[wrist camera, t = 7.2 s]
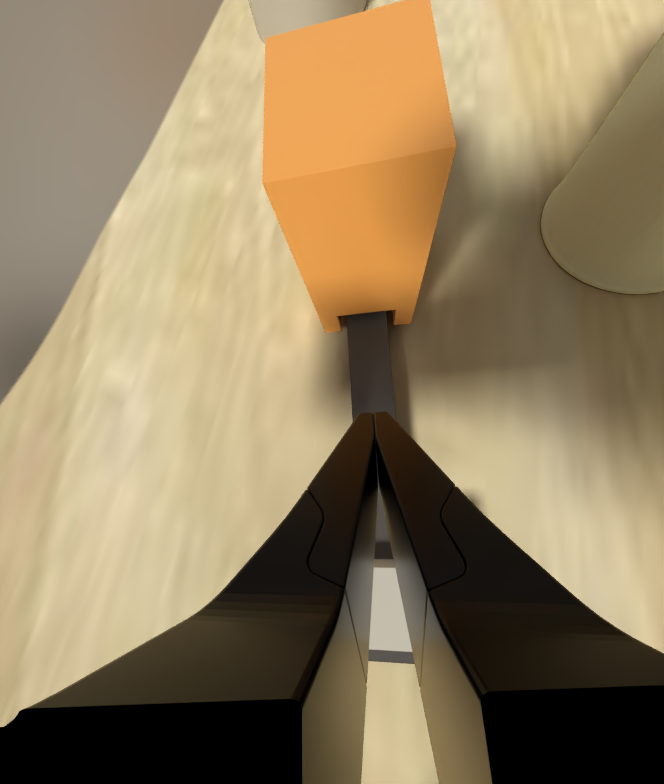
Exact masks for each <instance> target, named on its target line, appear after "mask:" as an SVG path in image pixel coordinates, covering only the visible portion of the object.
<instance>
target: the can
mask: <svg viewBox="0 0 664 784" xmlns="http://www.w3.org/2000/svg"><path fill="white" fill-rule="evenodd" d="M541 232H542V236H543V240H544V243H545V245H546V247H547V249H548V251H549V253H550V254H551V256H552V257H553V258H554V260H555V261H556V262H557V263H558V264H559V265H560V266H561V267H562V268H563V269H564V270H566V271H567V272H568V273H569V274H571V275H572V276H574V277H575V278H577V279H579V280H581V281H582V282H584V283H587V284H589V285H591V286H594V287H597V288H600V289H603V290H607V291H611V292H617V293H624V294H649V293H657V292H662V291H664V34H663V35H662V36H661V38H660V39H659V41H658V42H657V44H656V45H655V47H654V48H653V50H652V51H651V53H650V54H649V56H648V57H647V59H646V60H645V62H644V63H643V64H642V66H641V67H640V69H639V70H638V72H637V73H636V75H635V76H634V78H633V79H632V81H631V82H630V84H629V85H628V87H627V88H626V90H625V91H624V92H623V94H622V95H621V97H620V98H619V100H618V101H617V103H616V104H615V106H614V107H613V109H612V110H611V112H610V113H609V115H608V116H607V118H606V119H605V120H604V122H603V123H602V125H601V126H600V128H599V129H598V131H597V132H596V134H595V135H594V137H593V138H592V140H591V141H590V142H589V144H588V145H587V147H586V148H585V150H584V151H583V153H582V154H581V156H580V157H579V158H578V160H577V161H576V163H575V164H574V165H573V167H572V168H571V170H570V171H569V172H568V174H567V175H566V177H565V178H564V179H563V181H562V182H561V183H559V184H558V186H557V187H556V188H555V189H554V190H553V192H552V193H551V194H550V196H549V198H548V199H547V201H546V203H545V206H544V209H543V212H542V218H541Z"/></svg>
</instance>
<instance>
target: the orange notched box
mask: <svg viewBox="0 0 664 784" xmlns="http://www.w3.org/2000/svg"><path fill="white" fill-rule="evenodd" d="M456 147H457V146H456V140H455V135H454V129H453V124H452V118H451V113H450V107H449V102H448V96H447V91H446V86H445V80H444V75H443V69H442V64H441V58H440V53H439V47H438V42H437V36H436V31H435V25H434V20H433V14H432V9H431V3H430V0H404V1H400V2H396V3H393V4H389V5H385V6H382V7H378V8H374V9H371V10H367V11H363V12H359V13H356V14H352V15H348V16H345V17H341V18H337V19H334V20H330V21H326V22H323V23H319V24H315V25H311V26H308V27H304V28H300V29H297V30H293V31H289V32H286V33H282V34H278V35H274V36H271V37H267V38H266V47H265V93H264V139H263V186H264V188H265V190H266V193H267V195H268V198H269V200H270V202H271V205H272V207H273V209H274V212H275V214H276V216H277V219H278V221H279V224H280V226H281V228H282V231H283V233H284V235H285V238H286V240H287V243H288V245H289V247H290V250H291V252H292V254H293V257H294V259H295V261H296V264H297V266H298V269H299V271H300V273H301V276H302V278H303V280H304V283H305V285H306V287H307V290H308V292H309V295H310V297H311V299H312V302H313V304H314V306H315V309H316V311H317V313H318V316H319V318H320V321H321V323H322V325H323V328H324V330H325V332H336V331H341V316H343V315H352V314H360V313H369V312H378V311H387V310H393V320H394V325H402V324H411V322H412V318H413V314H414V310H415V306H416V302H417V298H418V294H419V291H420V287H421V283H422V279H423V275H424V271H425V267H426V263H427V259H428V256H429V252H430V248H431V244H432V240H433V236H434V232H435V228H436V224H437V221H438V217H439V213H440V209H441V205H442V201H443V197H444V193H445V189H446V186H447V182H448V178H449V174H450V170H451V166H452V162H453V158H454V154H455V151H456Z"/></svg>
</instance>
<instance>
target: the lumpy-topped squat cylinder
mask: <svg viewBox="0 0 664 784" xmlns="http://www.w3.org/2000/svg"><path fill="white" fill-rule="evenodd" d="M248 1H249V4H250V8H251V11H252V15H253V18H254V22H255V25H256V29H257V32H258V35H259V37H260V39H261V40H262V41H263V42H264V43H265V44H266V38H267V37H271V36H274V35H278V34H282V33H286V32H289V31H293V30H297V29H300V28H304V27H308V26H311V25H315V24H319V23H323V22H326V21H330V20H334V19H337V18H341V17H345V16H348V15H352V14H356V13H359V12H363V11H364V9H365V6H366V3H367V0H248Z"/></svg>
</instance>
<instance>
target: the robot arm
mask: <svg viewBox="0 0 664 784" xmlns="http://www.w3.org/2000/svg"><path fill="white" fill-rule="evenodd" d="M374 429H375V430H374ZM375 443H376V444H375ZM376 456H377V458H376ZM377 470H378V472H377ZM378 482H379V490H380V495H381V500H382V505H383V510H384V515H385V520H386V525H387V530H388V535H389V539H390V544H391V549H392V554H393V559H394V564H395V569H396V574H397V579H398V584H399V589H400V593H401V598H402V603H403V608H404V613H405V618H406V623H407V628H408V633H409V638H410V643H411V647H412V652H413V657H414V662H415V667H416V672H417V677H418V682H419V686H420V688H421V689H420V692H421V697H422V702H423V707H424V712H425V716H426V721H427V726H428V731H429V736H430V741H431V746H432V751H433V756H434V761H435V766H436V770H437V775H438V780H439V784H664V653H662V652H660V651H658V650H656V649H654V648H652V647H650V646H648V645H646V644H644V643H642V642H640V641H638V640H637V639H635V638H633V637H631V636H630V635H628V634H626V633H625V632H623V631H621V630H620V629H618V628H616V627H615V626H613V625H612V624H611V623H609V622H608V621H606V620H605V619H603V618H602V617H600V616H599V615H598V614H596V613H595V612H594V611H592V610H591V609H590V608H589V607H587V606H586V605H585V604H583V603H582V602H581V601H580V600H579V599H578V598H576V597H575V596H574V595H573V594H572V593H571V592H569V591H568V590H567V589H566V588H565V587H564V586H563V585H561V584H560V583H559V582H558V581H557V580H556V579H555V578H554V577H552V576H551V575H550V574H549V573H548V572H547V571H546V570H545V569H543V568H542V567H541V566H540V565H539V564H538V563H537V562H536V561H534V560H533V559H532V558H531V557H530V556H529V555H528V554H526V553H525V552H524V551H523V550H522V549H521V548H520V547H519V546H517V545H516V544H515V543H514V542H513V541H512V540H511V539H510V538H508V537H507V536H506V535H505V534H504V533H503V532H502V531H501V530H500V529H499V528H498V527H496V526H495V525H494V524H493V523H492V522H491V521H490V520H489V519H488V518H487V517H486V516H485V515H484V514H483V513H482V512H481V511H480V510H479V509H478V508H477V507H476V506H475V505H474V504H473V503H472V502H471V501H470V500H469V499H468V498H467V497H466V496H465V495H464V494H463V493H462V491H461V490H460V489H459V488H458V487H455V484H454V483H453V482H452V481H451V480H450V479H449V478H448V476H447V475H446V474H445V473H444V472H443V471H442V470H441V469H440V468H439V467H438V466H437V465H436V463H435V462H434V461H433V460H432V459H431V458H430V457H429V456H428V455H427V454H426V453H425V452H424V451H423V449H422V448H421V447H420V446H419V445H418V444H417V443H416V442H415V441H414V440H413V439H412V438H411V436H410V435H409V434H408V433H407V432H406V431H405V430H404V429H403V428H402V427H401V426H400V425H399V423H398V422H397V421H396V420H395V419H394V418H393V417H392V416H391V415H390V414H389V413H388V412H375V413H374V417H373V413H360V414H358V416H357V417H356V419H355V420H354V422H353V423H352V424H351V426H350V427H349V429H348V430H347V432H346V433H345V434H344V436H343V437H342V439H341V440H340V442H339V443H338V444H337V446H336V447H335V449H334V450H333V452H332V453H331V455H330V456H329V457H328V459H327V460H326V462H325V463H324V465H323V466H322V467H321V469H320V470H319V472H318V473H317V475H316V476H315V478H314V479H313V480H312V482H311V483H310V485H309V486H308V488H307V490H305V492H304V493H303V494H302V496H301V497H300V499H299V500H298V502H297V503H296V504H295V506H294V507H293V508H292V510H291V511H290V512H289V514H288V515H287V516H286V518H285V519H284V520H283V521H282V523H281V524H280V525H279V526H278V527H277V529H276V530H275V531H274V532H273V533H272V535H271V536H270V537H269V538H268V539H267V540H266V541H265V543H264V544H263V545H262V546H261V547H260V548H259V549H258V551H257V552H256V553H255V554H254V555H253V556H252V557H251V559H250V560H249V561H248V562H247V563H246V564H245V565H244V567H243V568H242V569H241V570H240V571H239V572H238V573H237V575H236V576H235V577H234V578H233V579H232V580H231V581H230V582H229V584H228V585H227V586H226V587H225V588H224V589H223V590H222V591H221V592H220V593H219V594H218V595H217V596H216V597H215V598H214V599H213V600H212V601H211V602H210V603H208V604H207V605H206V606H205V607H204V608H202V609H201V610H200V611H198V612H197V613H196V614H194V615H193V616H191V617H189V618H188V619H186V620H184V621H183V622H181V623H179V624H177V625H176V626H174V627H172V628H170V629H169V630H167V631H165V632H163V633H162V634H160V635H158V636H156V637H154V638H153V639H151V640H149V641H147V642H146V643H144V644H142V645H140V646H139V647H137V648H135V649H133V650H132V651H130V652H128V653H126V654H124V655H123V656H121V657H119V658H117V659H116V660H114V661H112V662H110V663H109V664H107V665H105V666H103V667H102V668H100V669H98V670H96V671H95V672H93V673H91V674H89V675H87V676H86V677H84V678H82V679H80V680H79V681H77V682H75V683H73V684H72V685H70V686H68V687H66V688H65V689H63V690H61V691H59V692H58V693H56V694H54V695H52V696H50V697H48V698H46V699H44V700H42V701H40V702H38V703H36V704H34V705H32V706H30V707H28V708H25V709H23V710H21V711H19V713H18V715H17V716H16V717H15V719H14V720H12V721H11V722H10V723H9V724H7V725H6V726H5V727H0V784H361V774H362V757H363V741H364V724H365V707H366V690H367V686H366V683H367V672H368V656H369V639H370V622H371V605H372V589H373V572H374V555H375V538H376V521H377V505H378Z"/></svg>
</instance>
